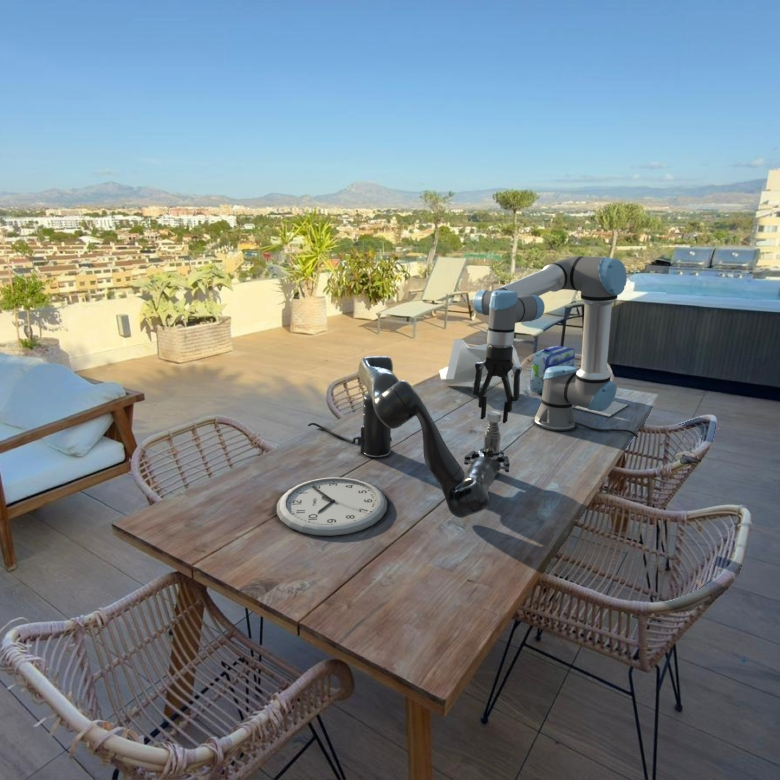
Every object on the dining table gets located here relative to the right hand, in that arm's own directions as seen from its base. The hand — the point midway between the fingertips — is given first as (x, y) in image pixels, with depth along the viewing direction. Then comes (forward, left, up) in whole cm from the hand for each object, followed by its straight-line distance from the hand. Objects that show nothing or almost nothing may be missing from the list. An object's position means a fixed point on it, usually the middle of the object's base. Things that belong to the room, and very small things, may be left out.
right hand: (493, 419), depth 158 cm
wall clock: (+44, +27, -18) cm, 55 cm away
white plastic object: (0, -84, -18) cm, 86 cm away
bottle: (0, 0, -18) cm, 18 cm away
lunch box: (-34, -92, -18) cm, 100 cm away
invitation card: (-52, -72, -18) cm, 91 cm away
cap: (0, 0, +2) cm, 2 cm away
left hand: (-1, -3, -12) cm, 12 cm away
